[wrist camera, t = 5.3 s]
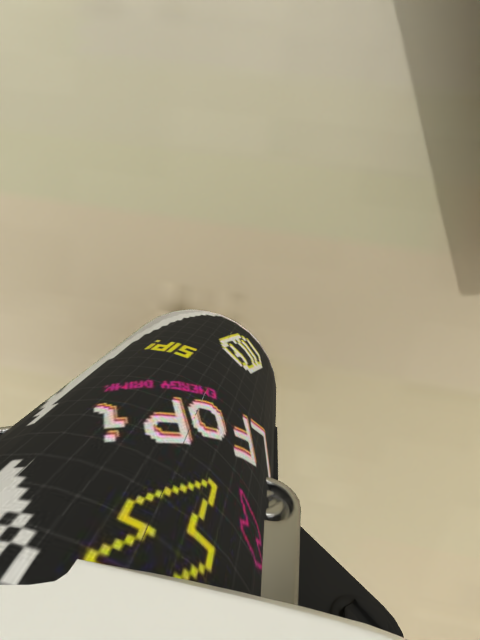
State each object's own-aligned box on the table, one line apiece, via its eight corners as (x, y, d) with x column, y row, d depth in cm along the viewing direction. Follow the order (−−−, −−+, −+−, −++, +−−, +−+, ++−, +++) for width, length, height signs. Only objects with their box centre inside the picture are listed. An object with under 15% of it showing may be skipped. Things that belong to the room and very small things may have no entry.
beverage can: (118, 306, 13) (-861, 826, 2) (273, 301, 13) (225, 1044, 1) (138, 442, 15) (-347, 1203, 3) (278, 444, 14) (276, 1395, 3)
